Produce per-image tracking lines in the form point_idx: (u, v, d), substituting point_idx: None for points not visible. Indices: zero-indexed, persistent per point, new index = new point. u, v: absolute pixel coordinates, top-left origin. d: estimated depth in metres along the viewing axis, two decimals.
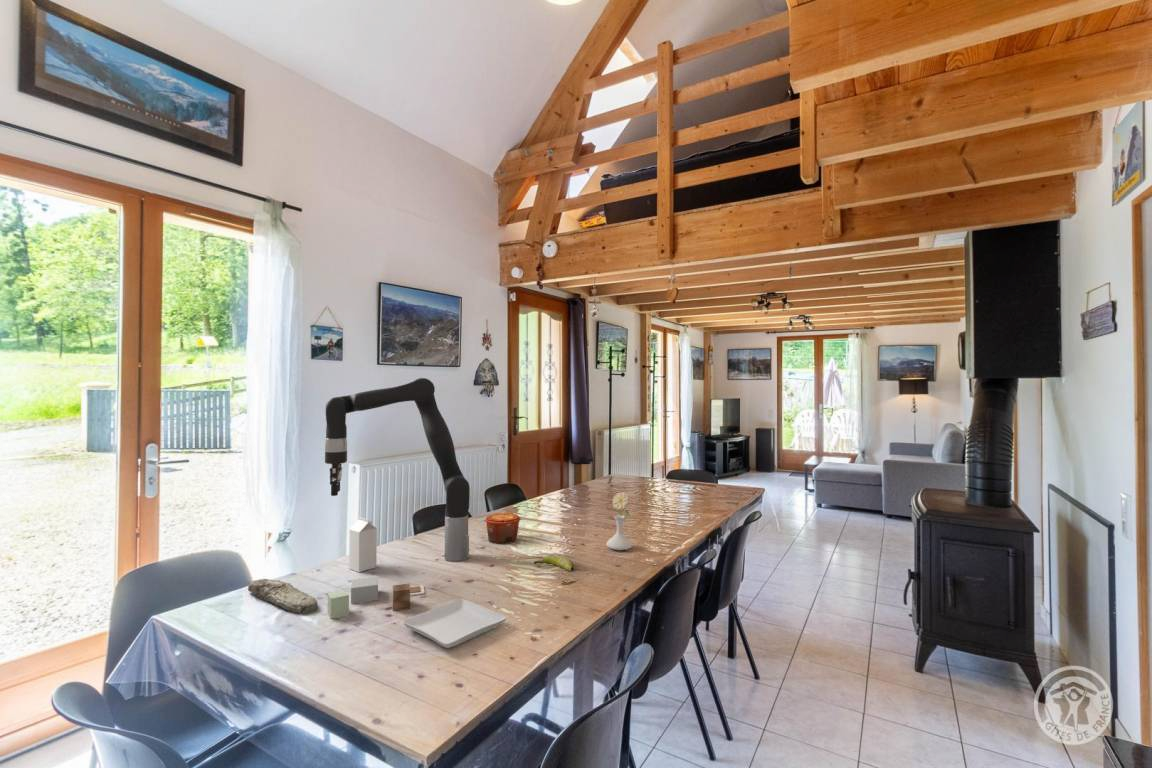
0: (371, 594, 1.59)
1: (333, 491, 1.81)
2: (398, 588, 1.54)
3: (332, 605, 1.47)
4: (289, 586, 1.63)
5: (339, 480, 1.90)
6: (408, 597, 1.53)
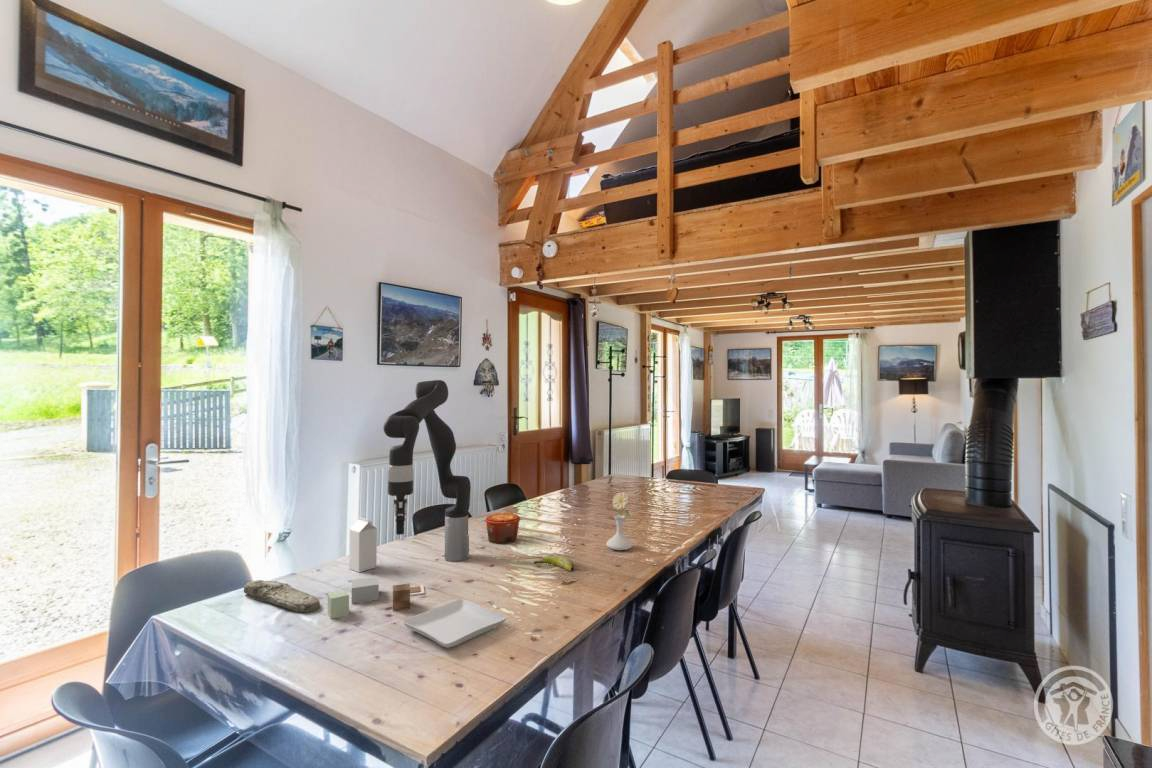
0: (372, 594, 1.60)
1: (399, 529, 1.51)
2: (398, 588, 1.54)
3: (332, 605, 1.47)
4: (287, 586, 1.63)
5: (402, 514, 1.60)
6: (408, 597, 1.53)
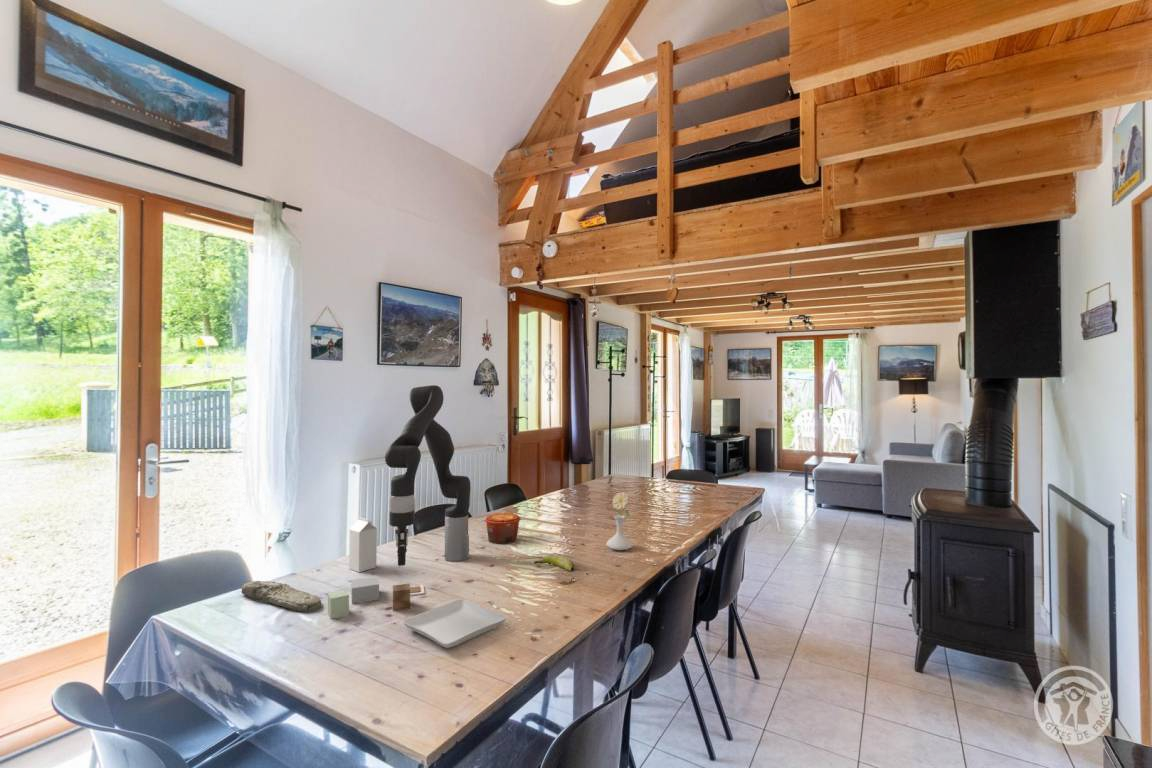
0: (372, 594, 1.60)
1: (400, 560, 1.50)
2: (398, 588, 1.54)
3: (332, 605, 1.47)
4: (286, 586, 1.63)
5: None
6: (408, 597, 1.53)
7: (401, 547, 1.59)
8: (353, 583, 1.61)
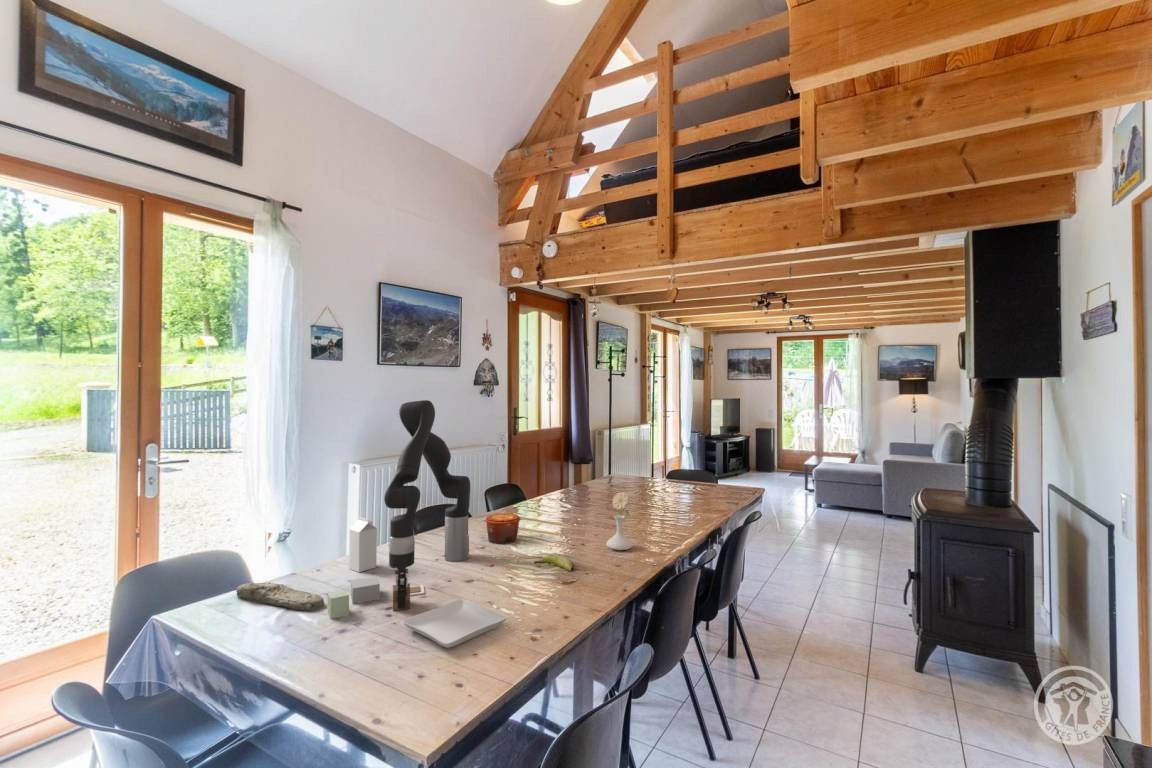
0: (373, 594, 1.60)
1: (400, 603, 1.51)
2: None
3: (332, 605, 1.46)
4: (284, 587, 1.63)
5: None
6: (408, 597, 1.53)
7: None
8: (353, 583, 1.61)
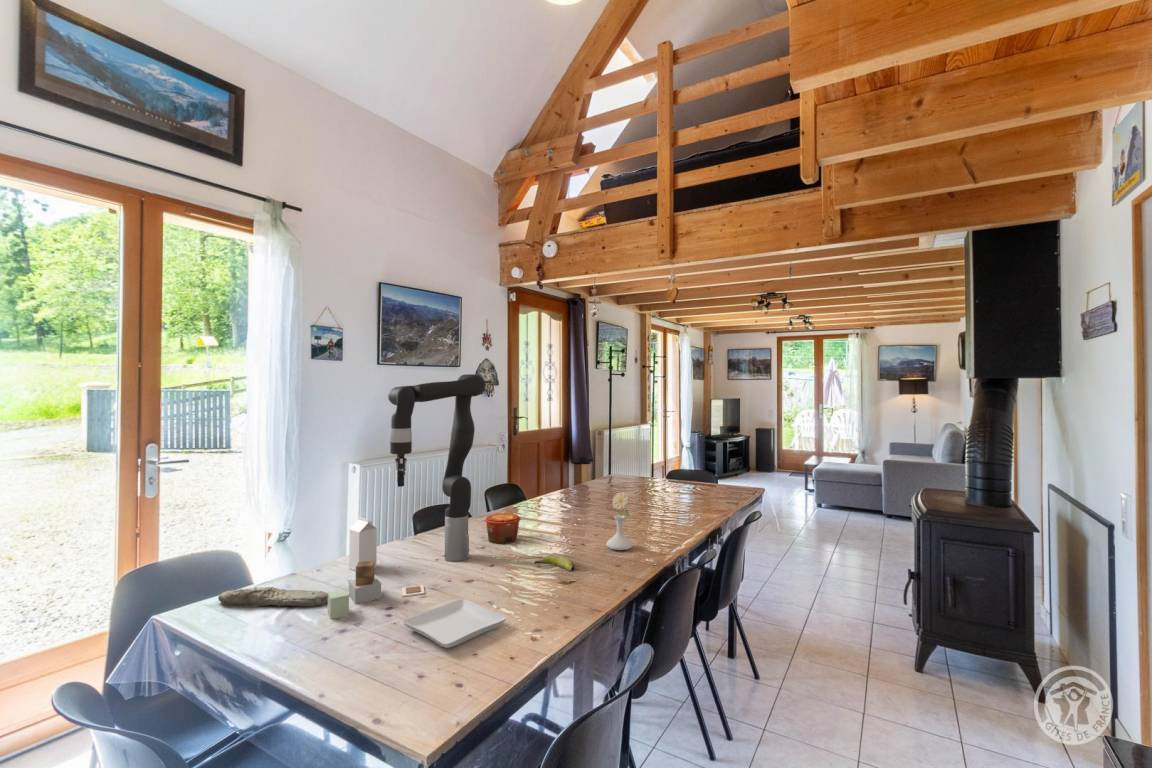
0: (375, 593, 1.61)
1: (400, 482, 1.78)
2: (361, 564, 1.61)
3: (332, 605, 1.47)
4: (276, 589, 1.61)
5: (402, 471, 1.87)
6: (370, 573, 1.61)
7: None
8: (353, 584, 1.60)
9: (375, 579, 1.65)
